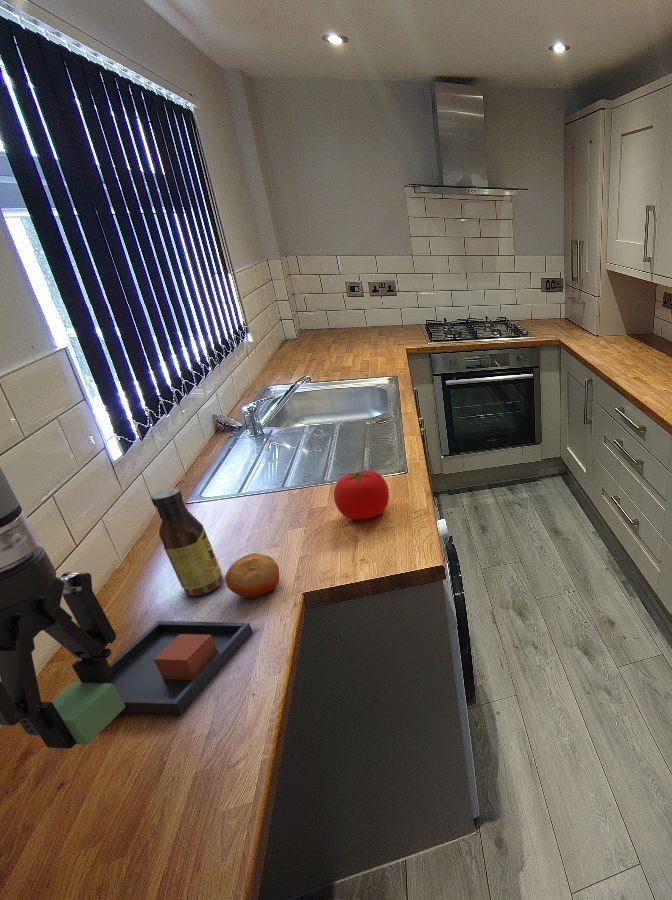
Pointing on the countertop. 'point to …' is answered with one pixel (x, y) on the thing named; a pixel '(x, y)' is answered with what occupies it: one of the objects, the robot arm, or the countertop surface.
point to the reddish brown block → (185, 656)
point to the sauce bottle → (186, 544)
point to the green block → (88, 708)
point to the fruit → (252, 575)
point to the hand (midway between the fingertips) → (85, 722)
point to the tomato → (361, 494)
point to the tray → (143, 679)
